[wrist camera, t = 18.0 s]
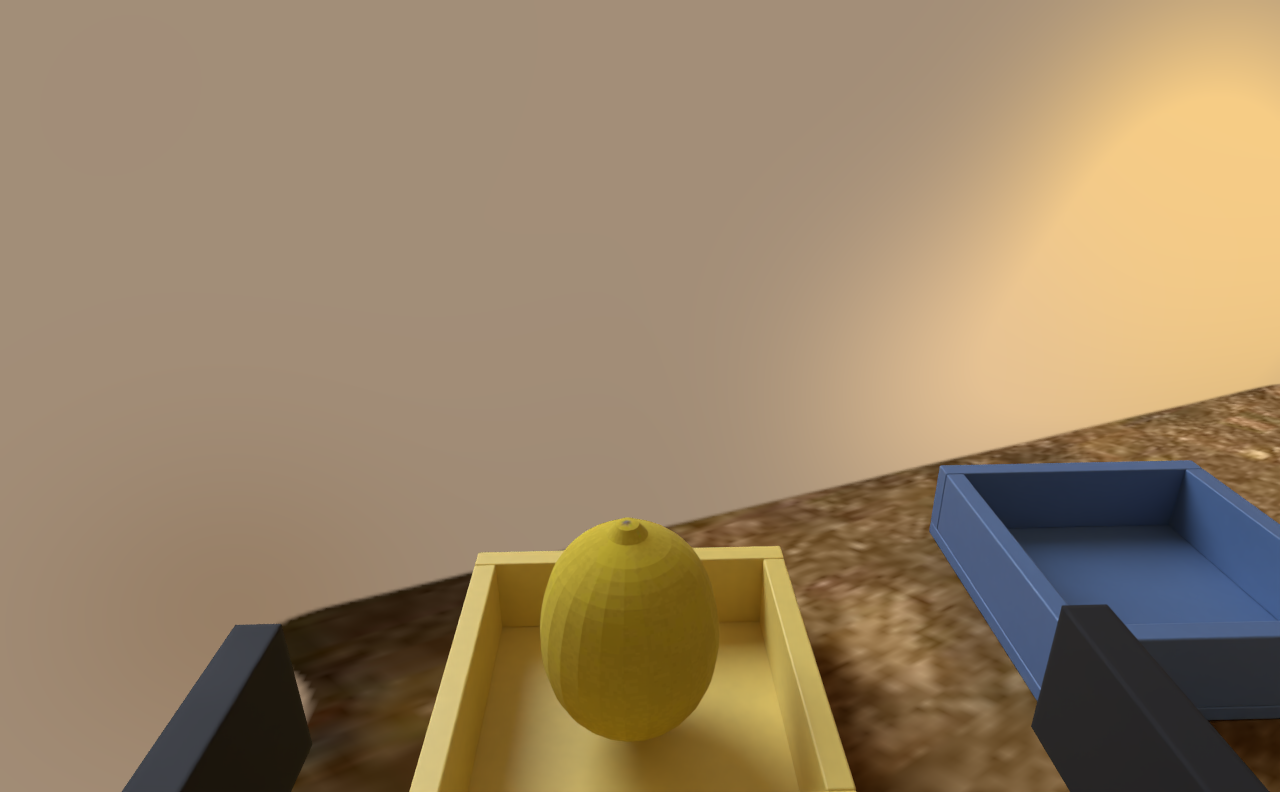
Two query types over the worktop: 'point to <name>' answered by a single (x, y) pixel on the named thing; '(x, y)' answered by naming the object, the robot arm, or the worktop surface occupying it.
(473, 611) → the yellow bin
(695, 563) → the lemon
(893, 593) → the worktop surface
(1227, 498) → the blue bin
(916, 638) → the worktop surface
